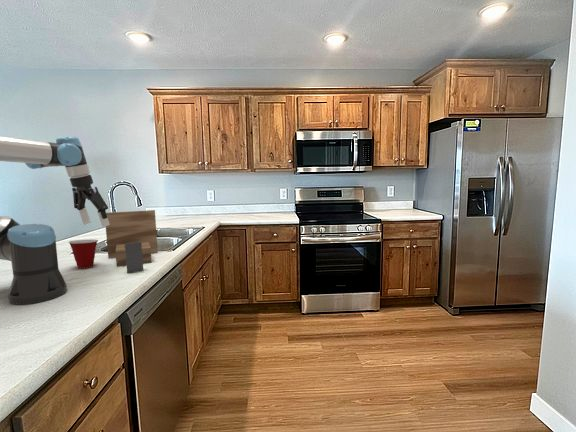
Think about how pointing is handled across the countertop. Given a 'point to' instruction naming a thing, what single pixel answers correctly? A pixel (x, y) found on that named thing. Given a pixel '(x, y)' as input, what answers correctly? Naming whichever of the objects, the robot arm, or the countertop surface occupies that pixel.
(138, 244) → the dark grey rectangular post
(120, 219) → the wooden panel stand
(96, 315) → the countertop surface
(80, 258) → the plastic cup
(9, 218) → the robot arm
